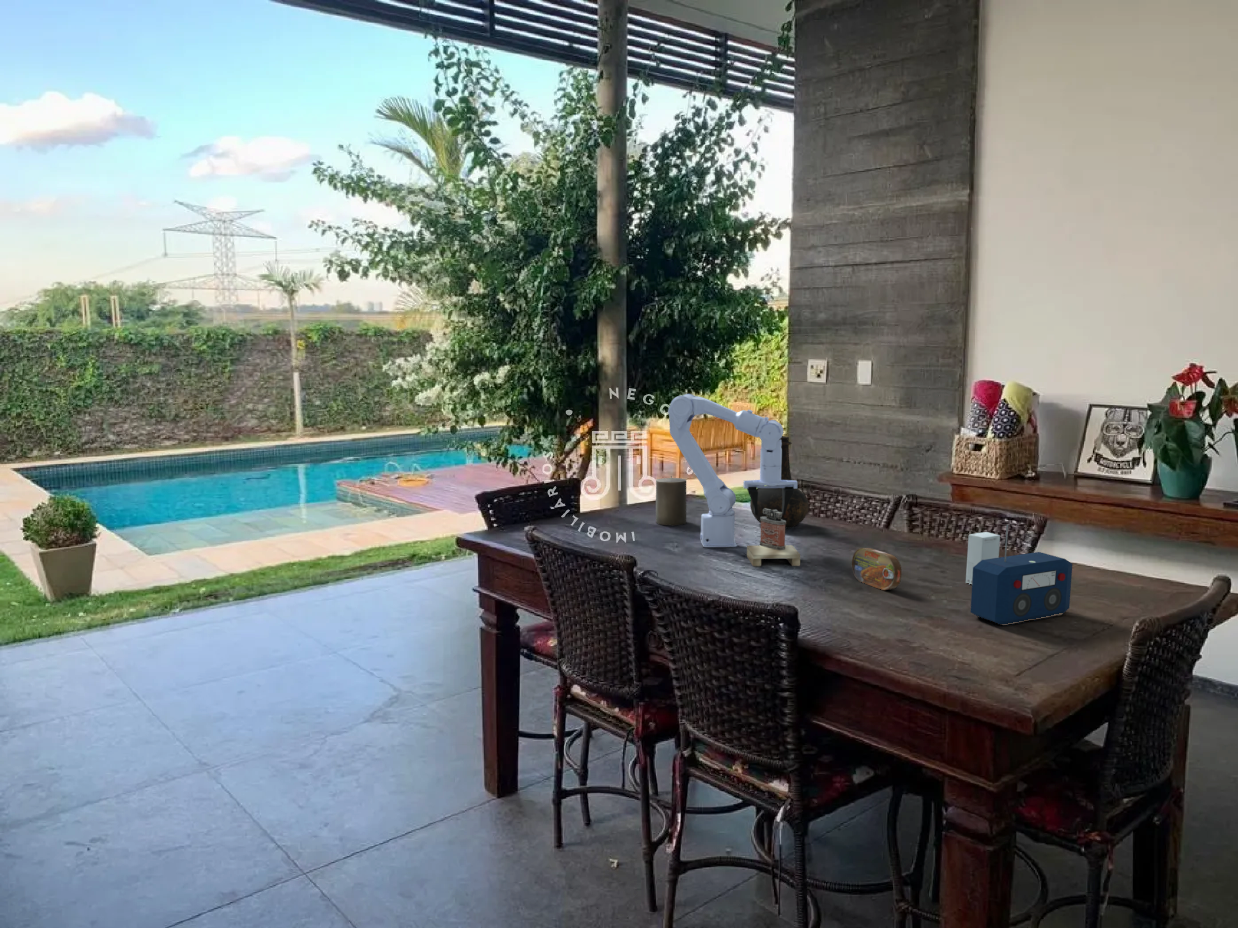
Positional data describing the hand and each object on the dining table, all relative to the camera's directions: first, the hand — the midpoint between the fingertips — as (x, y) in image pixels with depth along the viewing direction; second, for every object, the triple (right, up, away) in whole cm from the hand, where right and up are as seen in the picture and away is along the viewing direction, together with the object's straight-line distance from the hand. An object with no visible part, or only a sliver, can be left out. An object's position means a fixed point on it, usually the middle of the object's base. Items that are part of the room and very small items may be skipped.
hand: (769, 513), depth 242 cm
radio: (+42, -18, -59) cm, 75 cm away
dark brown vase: (+8, -6, +30) cm, 31 cm away
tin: (+19, -15, -36) cm, 43 cm away
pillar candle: (-25, -5, +35) cm, 43 cm away
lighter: (-1, -8, -10) cm, 13 cm away
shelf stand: (-1, -12, -13) cm, 18 cm away
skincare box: (+44, -15, -35) cm, 58 cm away
